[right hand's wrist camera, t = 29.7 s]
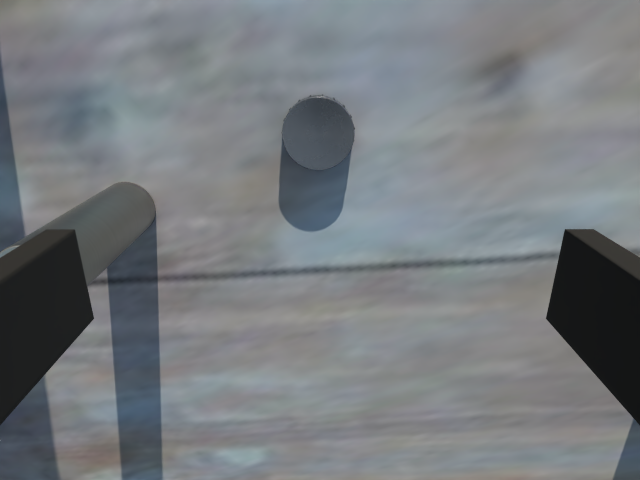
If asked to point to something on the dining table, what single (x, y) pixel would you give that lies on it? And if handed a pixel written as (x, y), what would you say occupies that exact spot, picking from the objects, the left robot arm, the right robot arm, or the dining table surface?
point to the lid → (318, 132)
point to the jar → (104, 225)
